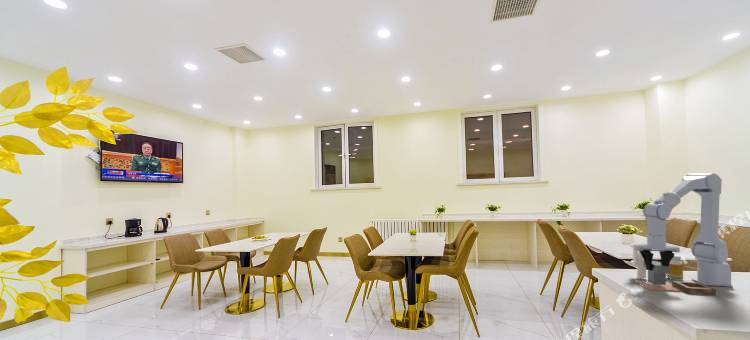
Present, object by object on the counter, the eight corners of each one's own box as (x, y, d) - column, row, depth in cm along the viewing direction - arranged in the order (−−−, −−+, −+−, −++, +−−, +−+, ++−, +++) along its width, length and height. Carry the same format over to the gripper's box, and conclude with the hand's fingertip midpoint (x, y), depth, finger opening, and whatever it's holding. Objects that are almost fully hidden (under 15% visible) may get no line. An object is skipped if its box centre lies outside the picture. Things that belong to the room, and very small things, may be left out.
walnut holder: (698, 287, 136) (698, 282, 136) (716, 295, 127) (716, 289, 127) (671, 286, 138) (671, 280, 138) (687, 293, 129) (687, 287, 129)
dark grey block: (670, 287, 132) (670, 266, 132) (657, 286, 132) (657, 266, 133) (656, 280, 140) (656, 261, 141) (643, 279, 141) (643, 260, 141)
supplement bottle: (686, 281, 144) (686, 257, 145) (671, 280, 146) (670, 256, 146) (677, 277, 150) (677, 254, 150) (663, 276, 151) (663, 253, 151)
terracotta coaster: (663, 283, 140) (663, 282, 140) (680, 291, 131) (680, 290, 131) (635, 282, 142) (635, 280, 142) (649, 290, 132) (649, 288, 132)
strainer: (643, 281, 144) (642, 244, 144) (626, 276, 151) (626, 241, 151) (656, 280, 145) (656, 243, 146) (640, 275, 152) (639, 240, 153)
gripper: (671, 233, 139) (671, 268, 139) (630, 232, 142) (630, 266, 142) (683, 236, 132) (683, 273, 132) (639, 235, 135) (639, 271, 135)
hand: (656, 270), depth 137 cm, fingers closed on dark grey block, 4 cm apart
